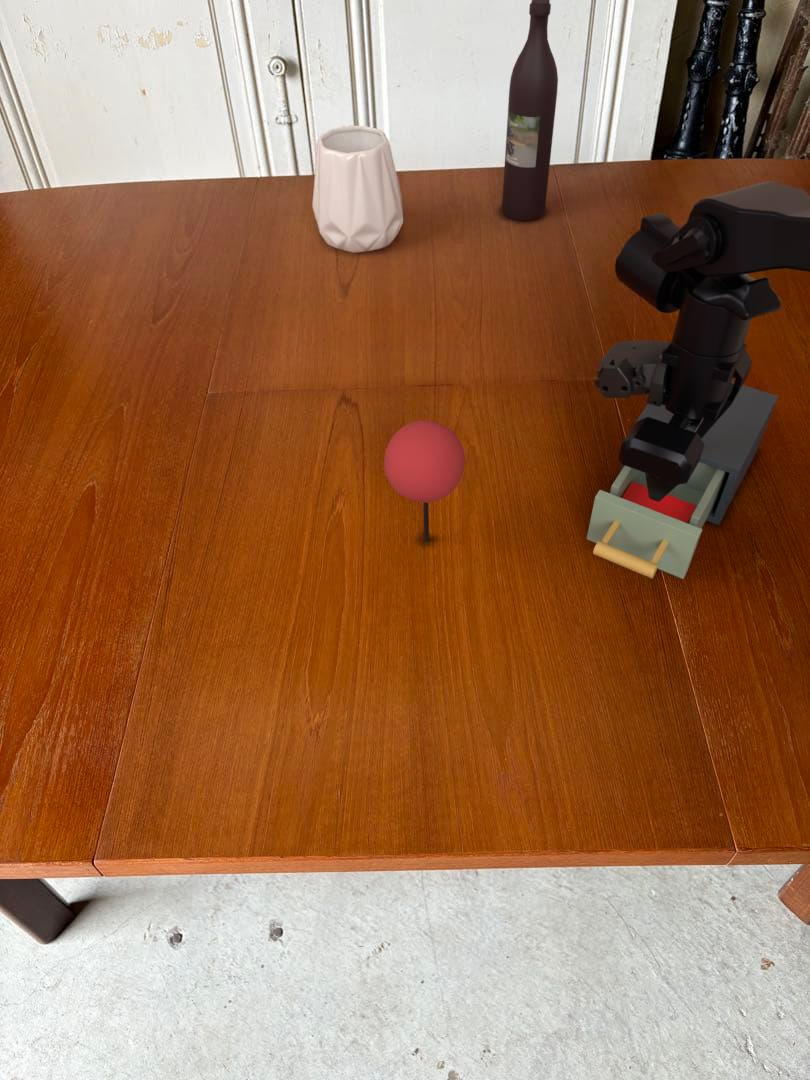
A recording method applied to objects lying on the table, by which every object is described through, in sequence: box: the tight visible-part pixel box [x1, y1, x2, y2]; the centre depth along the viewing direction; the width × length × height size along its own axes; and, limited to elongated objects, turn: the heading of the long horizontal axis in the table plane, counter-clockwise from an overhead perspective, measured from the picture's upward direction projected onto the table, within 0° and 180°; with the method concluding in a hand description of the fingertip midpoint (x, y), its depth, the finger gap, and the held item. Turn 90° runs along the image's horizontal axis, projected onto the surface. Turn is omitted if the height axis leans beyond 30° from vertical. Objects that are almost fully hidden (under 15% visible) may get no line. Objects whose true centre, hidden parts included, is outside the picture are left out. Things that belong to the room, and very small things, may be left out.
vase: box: [311, 125, 404, 254], centre depth 125 cm, size 14×14×15 cm
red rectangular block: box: [622, 481, 697, 524], centre depth 84 cm, size 7×3×3 cm, turn 58°
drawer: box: [586, 462, 727, 580], centre depth 83 cm, size 17×10×6 cm, turn 148°
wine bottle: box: [501, 0, 559, 222], centre depth 123 cm, size 7×7×30 cm
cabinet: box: [619, 381, 779, 526], centre depth 90 cm, size 14×12×8 cm
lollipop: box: [383, 420, 466, 543], centre depth 81 cm, size 8×8×15 cm
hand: (669, 474), depth 80 cm, fingers open, 8 cm apart
